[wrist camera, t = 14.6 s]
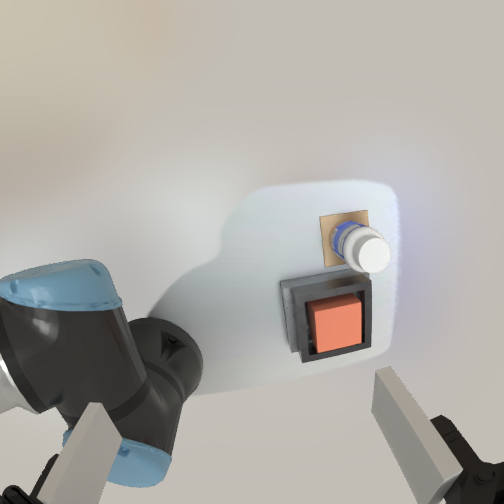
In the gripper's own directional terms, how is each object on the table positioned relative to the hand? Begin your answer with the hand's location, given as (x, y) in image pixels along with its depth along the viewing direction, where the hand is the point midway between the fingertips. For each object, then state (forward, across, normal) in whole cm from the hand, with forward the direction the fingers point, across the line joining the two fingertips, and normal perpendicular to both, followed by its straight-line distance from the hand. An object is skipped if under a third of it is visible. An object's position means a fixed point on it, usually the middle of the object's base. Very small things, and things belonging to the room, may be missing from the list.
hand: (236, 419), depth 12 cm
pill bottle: (+28, +15, 0) cm, 32 cm away
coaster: (+29, +15, 0) cm, 32 cm away
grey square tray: (+29, +11, -9) cm, 32 cm away
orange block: (+26, +11, -9) cm, 30 cm away
